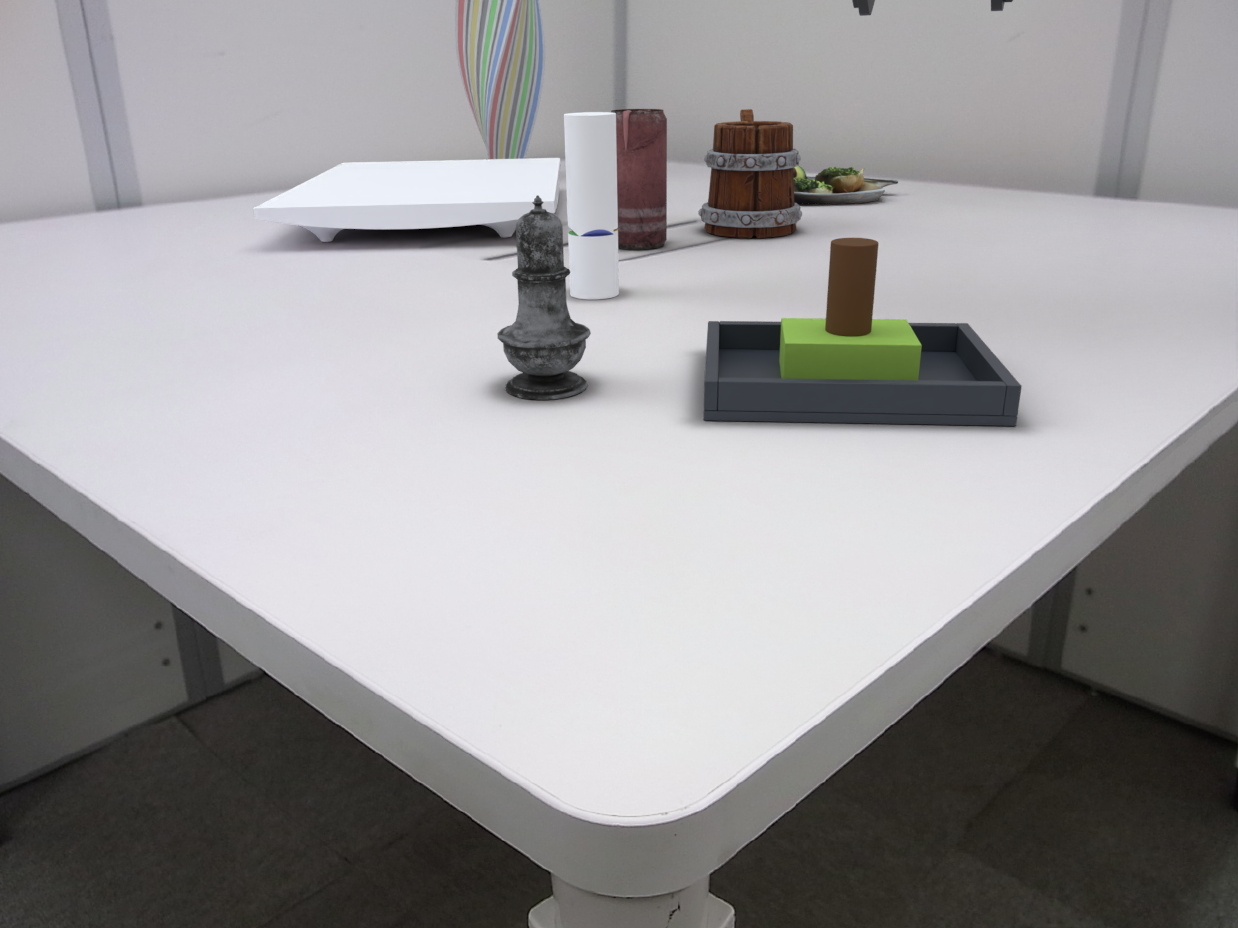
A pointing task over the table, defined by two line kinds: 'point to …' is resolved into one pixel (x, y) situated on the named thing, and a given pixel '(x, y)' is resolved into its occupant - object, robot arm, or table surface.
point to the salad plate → (836, 187)
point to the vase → (502, 70)
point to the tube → (592, 204)
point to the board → (417, 195)
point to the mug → (751, 179)
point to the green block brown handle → (849, 327)
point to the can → (641, 178)
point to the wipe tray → (858, 382)
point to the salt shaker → (543, 314)
